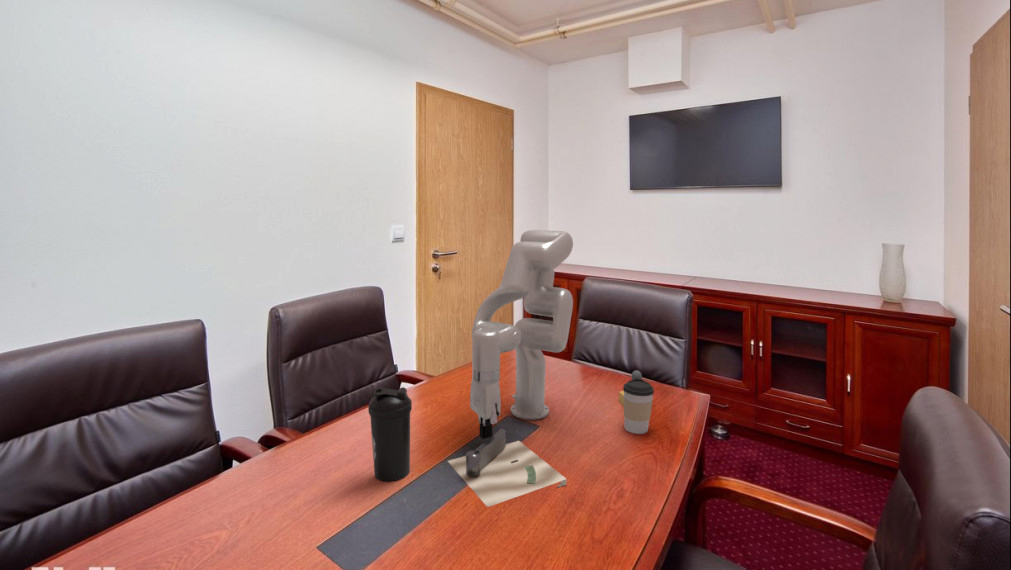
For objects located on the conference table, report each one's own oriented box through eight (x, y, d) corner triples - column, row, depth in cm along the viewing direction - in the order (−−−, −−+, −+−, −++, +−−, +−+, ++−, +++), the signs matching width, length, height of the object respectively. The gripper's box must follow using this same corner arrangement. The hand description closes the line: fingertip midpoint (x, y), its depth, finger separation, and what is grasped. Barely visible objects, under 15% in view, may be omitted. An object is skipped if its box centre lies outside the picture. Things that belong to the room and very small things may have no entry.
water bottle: (375, 467, 122) (372, 382, 119) (415, 465, 123) (413, 382, 119) (367, 490, 112) (363, 399, 109) (410, 488, 113) (408, 398, 109)
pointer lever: (475, 478, 114) (475, 459, 113) (463, 474, 116) (463, 455, 115) (509, 448, 129) (509, 431, 128) (497, 444, 130) (497, 427, 130)
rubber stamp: (625, 407, 161) (627, 374, 159) (618, 401, 166) (620, 368, 164) (652, 406, 162) (654, 372, 160) (644, 399, 168) (646, 367, 166)
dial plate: (447, 466, 123) (447, 460, 123) (518, 445, 134) (518, 439, 134) (487, 513, 105) (487, 506, 104) (566, 484, 116) (566, 478, 115)
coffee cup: (652, 437, 140) (656, 389, 137) (621, 434, 142) (624, 386, 139) (649, 423, 149) (652, 378, 146) (620, 420, 150) (622, 376, 148)
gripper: (461, 368, 133) (462, 429, 136) (486, 385, 120) (486, 452, 123) (485, 363, 137) (485, 423, 140) (512, 380, 124) (511, 445, 127)
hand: (485, 436), depth 132 cm, fingers closed
